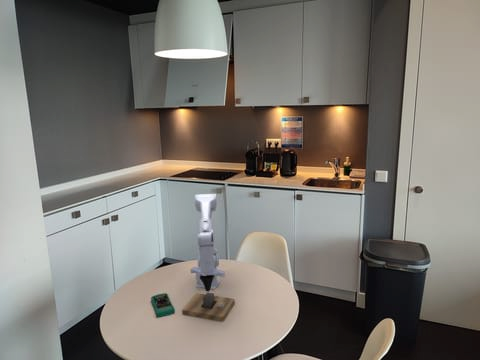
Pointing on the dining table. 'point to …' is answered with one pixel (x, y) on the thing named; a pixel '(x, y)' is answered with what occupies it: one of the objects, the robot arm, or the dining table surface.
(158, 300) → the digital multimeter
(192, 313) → the socket board
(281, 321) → the dining table surface
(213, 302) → the grey block
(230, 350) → the dining table surface
